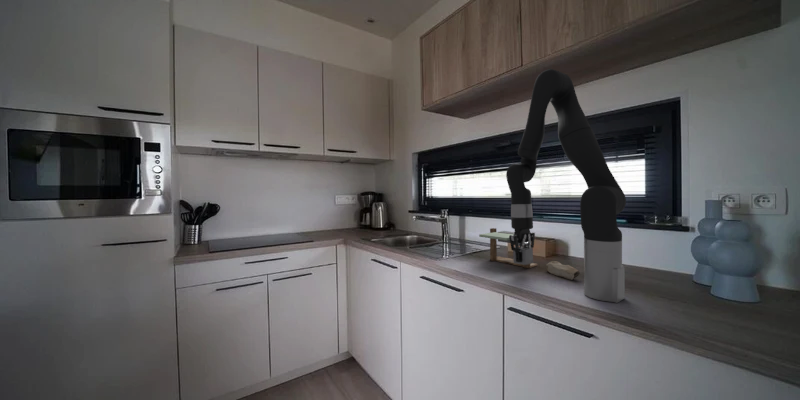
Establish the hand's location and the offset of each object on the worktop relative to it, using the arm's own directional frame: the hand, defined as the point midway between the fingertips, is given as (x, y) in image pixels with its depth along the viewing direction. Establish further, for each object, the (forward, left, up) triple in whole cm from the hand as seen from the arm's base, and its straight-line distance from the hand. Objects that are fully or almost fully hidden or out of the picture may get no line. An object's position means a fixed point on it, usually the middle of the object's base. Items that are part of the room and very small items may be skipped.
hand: (523, 260), depth 106 cm
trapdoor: (+14, -9, +3) cm, 17 cm away
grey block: (0, 0, -1) cm, 1 cm away
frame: (+14, -14, -6) cm, 21 cm away
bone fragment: (-9, -12, -6) cm, 16 cm away
